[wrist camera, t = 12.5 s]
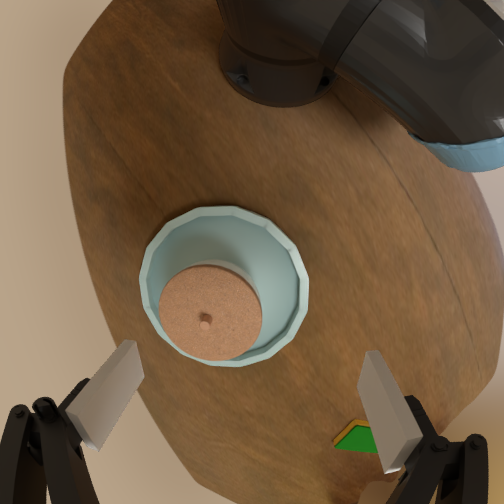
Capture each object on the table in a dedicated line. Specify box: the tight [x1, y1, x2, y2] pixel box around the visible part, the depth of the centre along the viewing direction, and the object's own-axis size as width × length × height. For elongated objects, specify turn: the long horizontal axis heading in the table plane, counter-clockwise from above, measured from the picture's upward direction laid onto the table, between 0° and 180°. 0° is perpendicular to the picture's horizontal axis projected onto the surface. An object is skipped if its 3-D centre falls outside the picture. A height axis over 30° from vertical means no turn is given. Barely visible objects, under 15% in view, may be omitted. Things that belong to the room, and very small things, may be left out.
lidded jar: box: [158, 259, 262, 361], centre depth 30 cm, size 11×11×9 cm
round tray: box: [139, 206, 309, 367], centre depth 34 cm, size 21×21×2 cm
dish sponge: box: [333, 419, 378, 453], centre depth 40 cm, size 7×14×2 cm, turn 66°
